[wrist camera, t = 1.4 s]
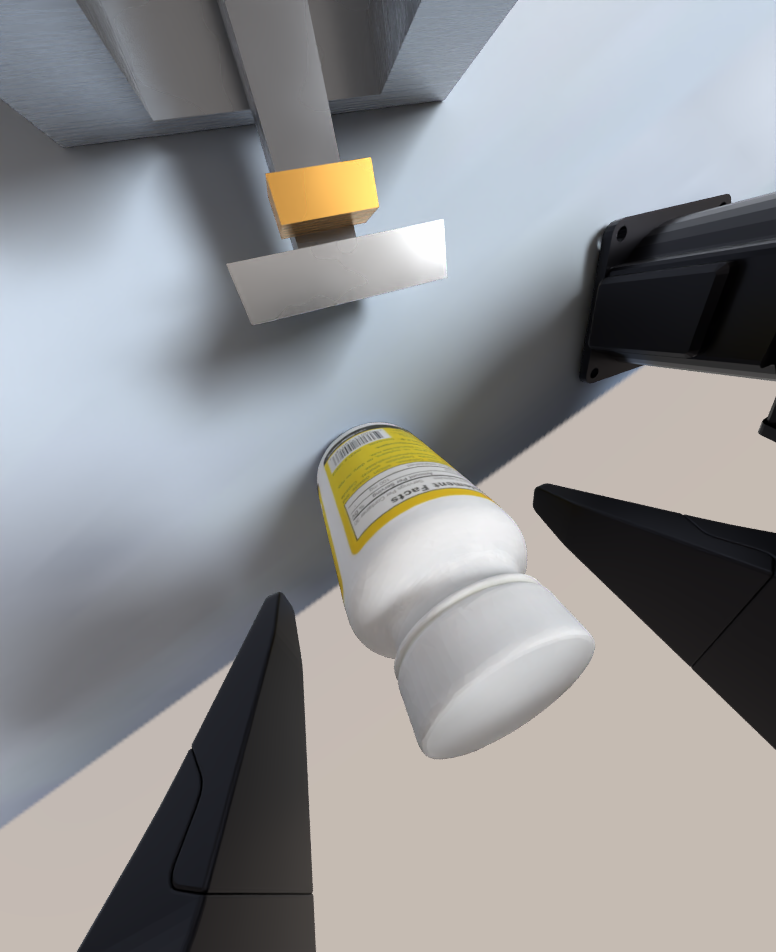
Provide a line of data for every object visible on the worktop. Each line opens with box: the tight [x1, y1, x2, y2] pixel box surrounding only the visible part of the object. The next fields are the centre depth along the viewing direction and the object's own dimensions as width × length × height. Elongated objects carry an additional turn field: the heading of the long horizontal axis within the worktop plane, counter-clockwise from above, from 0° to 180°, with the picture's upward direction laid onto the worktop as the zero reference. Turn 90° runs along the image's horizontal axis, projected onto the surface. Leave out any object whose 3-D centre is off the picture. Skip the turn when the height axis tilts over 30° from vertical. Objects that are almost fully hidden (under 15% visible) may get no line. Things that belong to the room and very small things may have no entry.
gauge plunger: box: [217, 0, 447, 325], centre depth 5 cm, size 4×8×3 cm, turn 12°
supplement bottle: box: [317, 422, 595, 759], centre depth 9 cm, size 5×5×10 cm
